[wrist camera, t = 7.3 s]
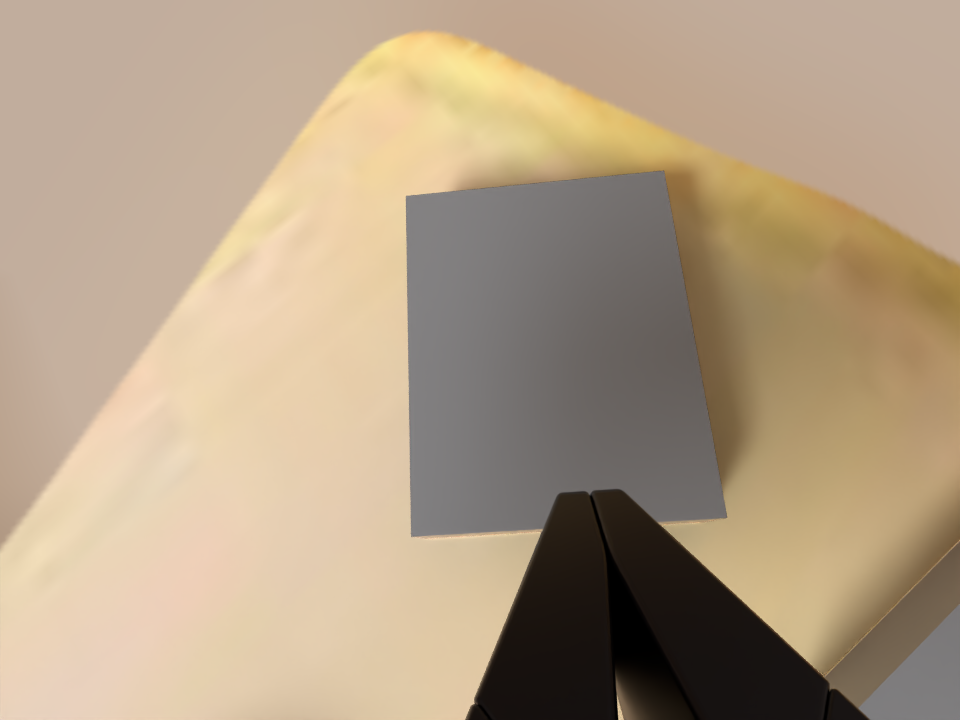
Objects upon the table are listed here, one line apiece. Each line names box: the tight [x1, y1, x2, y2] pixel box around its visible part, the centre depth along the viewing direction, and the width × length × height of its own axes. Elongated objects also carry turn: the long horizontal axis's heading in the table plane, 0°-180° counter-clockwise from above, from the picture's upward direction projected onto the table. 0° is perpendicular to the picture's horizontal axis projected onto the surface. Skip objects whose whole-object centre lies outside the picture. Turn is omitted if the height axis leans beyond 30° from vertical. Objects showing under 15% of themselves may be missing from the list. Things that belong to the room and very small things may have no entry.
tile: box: [406, 171, 727, 539], centre depth 16 cm, size 2×7×9 cm
